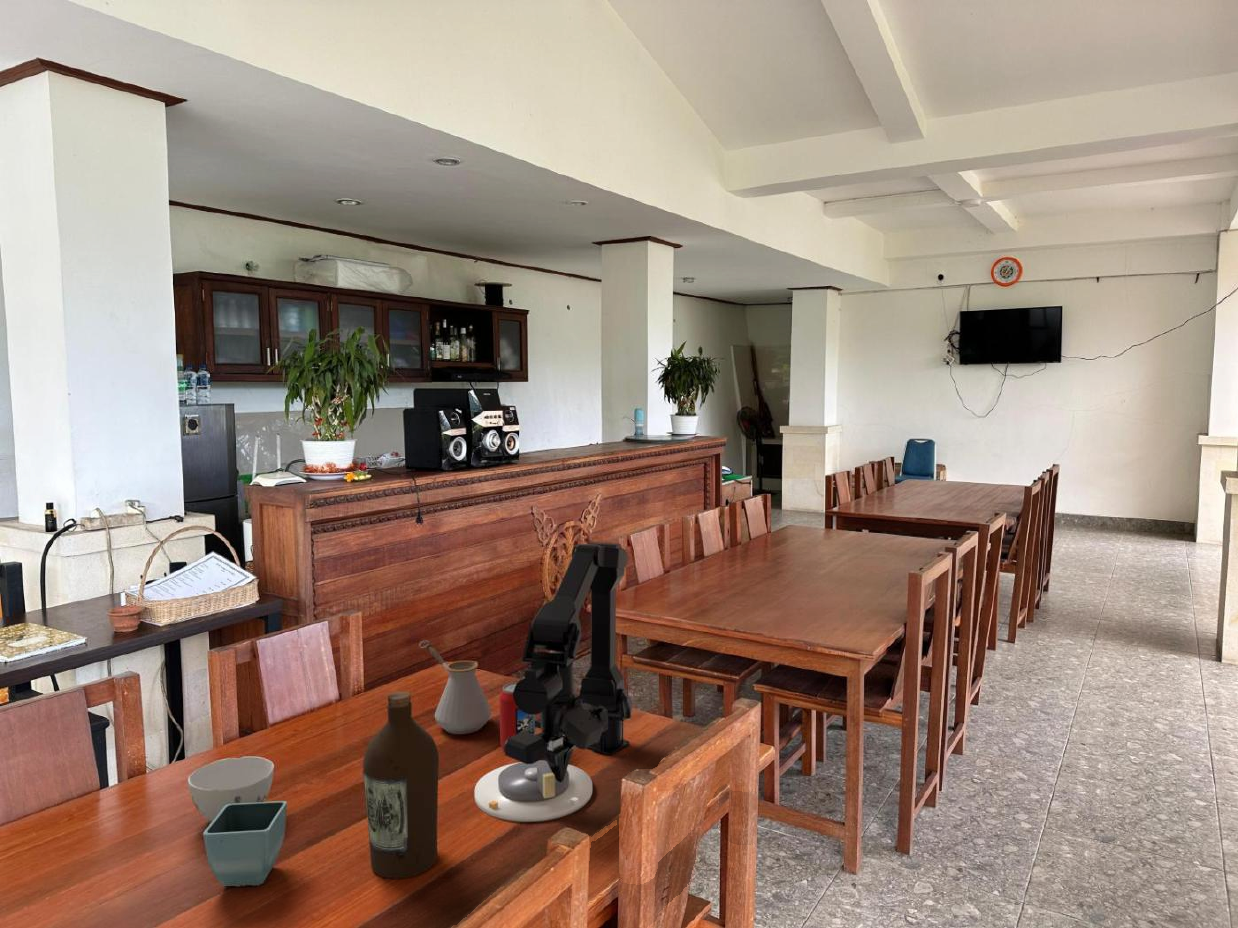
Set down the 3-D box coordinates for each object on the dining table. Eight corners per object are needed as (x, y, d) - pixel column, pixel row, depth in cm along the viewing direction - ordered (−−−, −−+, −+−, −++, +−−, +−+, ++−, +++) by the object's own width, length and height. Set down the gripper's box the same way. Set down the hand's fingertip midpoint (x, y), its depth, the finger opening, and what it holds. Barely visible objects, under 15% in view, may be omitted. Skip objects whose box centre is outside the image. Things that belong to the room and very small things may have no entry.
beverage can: (529, 756, 158) (528, 694, 157) (495, 753, 160) (494, 691, 159) (540, 741, 165) (539, 681, 164) (507, 739, 166) (506, 679, 165)
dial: (490, 776, 147) (489, 748, 147) (554, 763, 152) (554, 736, 152) (514, 813, 134) (513, 783, 134) (584, 798, 139) (584, 768, 139)
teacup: (286, 821, 135) (284, 773, 135) (201, 848, 127) (198, 797, 127) (258, 787, 147) (256, 742, 146) (178, 810, 139) (176, 763, 138)
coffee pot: (503, 727, 172) (501, 655, 171) (454, 743, 165) (452, 668, 163) (447, 699, 188) (445, 633, 187) (400, 713, 180) (398, 644, 179)
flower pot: (228, 861, 124) (225, 802, 123) (290, 858, 125) (288, 799, 124) (204, 897, 115) (201, 834, 114) (271, 893, 116) (268, 830, 115)
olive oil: (396, 836, 130) (391, 678, 128) (455, 849, 127) (451, 687, 124) (350, 873, 121) (344, 703, 118) (413, 888, 117) (408, 713, 115)
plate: (533, 756, 159) (533, 746, 158) (616, 786, 146) (616, 776, 146) (449, 796, 143) (449, 786, 143) (534, 834, 131) (534, 823, 130)
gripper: (550, 721, 125) (554, 821, 127) (631, 684, 139) (633, 774, 141) (500, 703, 133) (504, 798, 134) (582, 669, 147) (584, 755, 148)
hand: (559, 781), depth 139 cm, fingers closed
